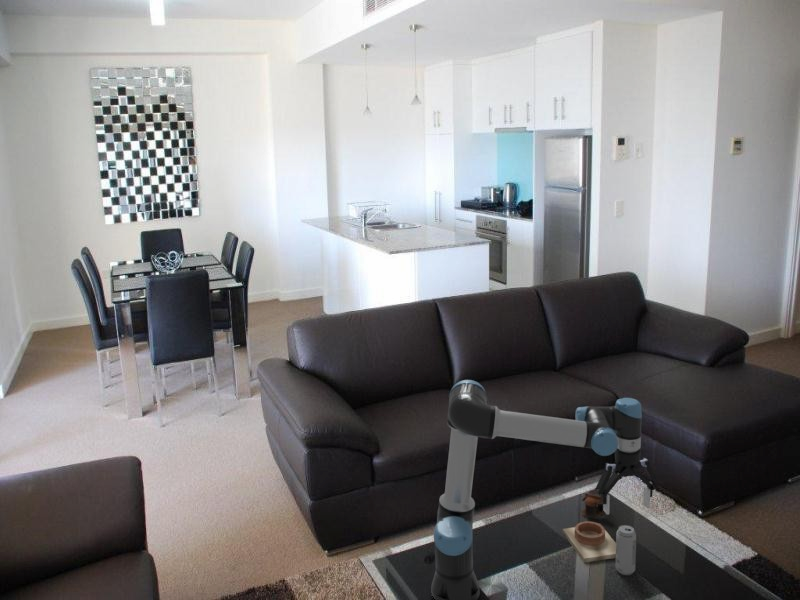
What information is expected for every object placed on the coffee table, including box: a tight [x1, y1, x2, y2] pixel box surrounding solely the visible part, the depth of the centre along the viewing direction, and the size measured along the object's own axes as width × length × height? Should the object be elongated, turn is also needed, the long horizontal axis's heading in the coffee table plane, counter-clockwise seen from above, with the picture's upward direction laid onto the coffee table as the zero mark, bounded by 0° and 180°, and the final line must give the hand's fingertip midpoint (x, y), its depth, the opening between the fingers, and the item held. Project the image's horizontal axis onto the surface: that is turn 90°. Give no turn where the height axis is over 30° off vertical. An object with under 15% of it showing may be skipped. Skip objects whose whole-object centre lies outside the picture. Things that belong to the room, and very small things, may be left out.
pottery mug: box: [581, 493, 607, 519], centre depth 255 cm, size 12×10×8 cm
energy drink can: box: [615, 524, 637, 576], centre depth 220 cm, size 6×6×15 cm
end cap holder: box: [562, 520, 616, 563], centre depth 236 cm, size 14×18×4 cm
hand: (626, 509), depth 217 cm, fingers open, 13 cm apart
